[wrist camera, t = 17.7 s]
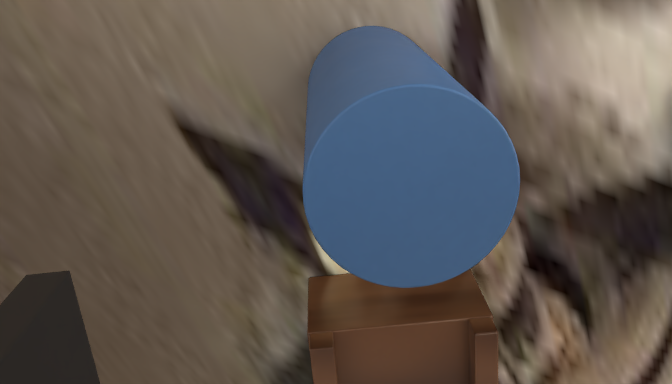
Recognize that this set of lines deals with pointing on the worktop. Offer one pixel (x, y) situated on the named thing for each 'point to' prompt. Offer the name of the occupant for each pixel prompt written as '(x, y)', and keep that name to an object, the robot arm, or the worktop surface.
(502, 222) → the tube
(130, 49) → the worktop surface
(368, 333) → the cradle
